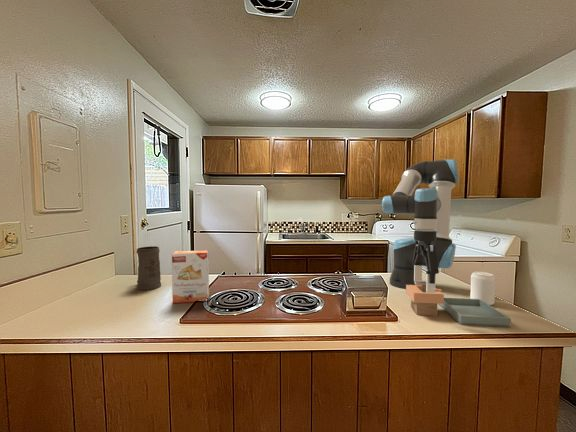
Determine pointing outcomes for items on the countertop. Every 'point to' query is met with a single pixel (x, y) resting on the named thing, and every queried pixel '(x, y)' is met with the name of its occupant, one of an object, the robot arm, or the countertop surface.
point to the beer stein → (148, 268)
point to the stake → (423, 307)
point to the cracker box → (190, 276)
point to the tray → (474, 312)
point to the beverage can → (483, 287)
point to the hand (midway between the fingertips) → (423, 286)
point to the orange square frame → (424, 295)
